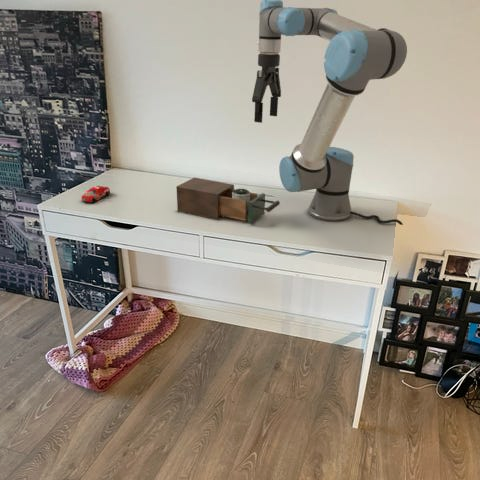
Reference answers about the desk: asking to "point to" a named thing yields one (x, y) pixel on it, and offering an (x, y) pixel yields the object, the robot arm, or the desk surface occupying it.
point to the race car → (95, 193)
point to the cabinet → (201, 197)
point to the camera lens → (242, 196)
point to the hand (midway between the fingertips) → (266, 119)
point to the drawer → (244, 206)
